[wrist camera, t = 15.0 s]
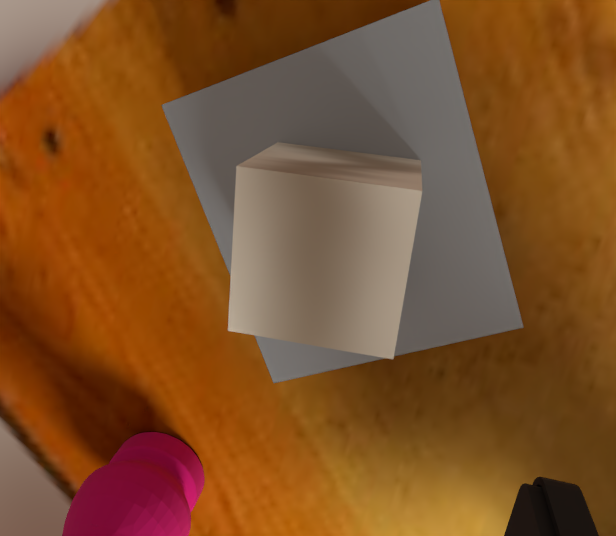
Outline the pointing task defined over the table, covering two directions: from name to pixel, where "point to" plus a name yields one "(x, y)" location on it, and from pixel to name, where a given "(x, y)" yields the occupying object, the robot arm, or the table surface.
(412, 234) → the cream block
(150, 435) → the pepper mill
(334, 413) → the table surface
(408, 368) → the table surface
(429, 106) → the slate block
